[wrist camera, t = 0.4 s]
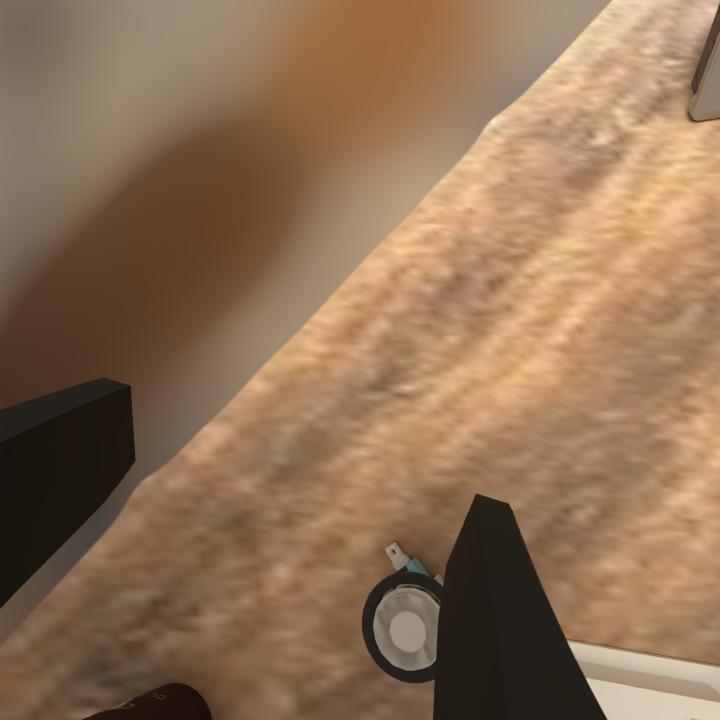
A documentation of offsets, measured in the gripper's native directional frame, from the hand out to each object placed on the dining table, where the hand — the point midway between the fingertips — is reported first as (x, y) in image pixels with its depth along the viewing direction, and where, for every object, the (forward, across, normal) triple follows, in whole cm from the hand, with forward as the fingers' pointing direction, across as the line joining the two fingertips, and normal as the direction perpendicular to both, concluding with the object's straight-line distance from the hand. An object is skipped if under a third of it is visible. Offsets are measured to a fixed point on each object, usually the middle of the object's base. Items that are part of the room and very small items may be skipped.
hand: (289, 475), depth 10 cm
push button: (+17, -6, +23) cm, 29 cm away
